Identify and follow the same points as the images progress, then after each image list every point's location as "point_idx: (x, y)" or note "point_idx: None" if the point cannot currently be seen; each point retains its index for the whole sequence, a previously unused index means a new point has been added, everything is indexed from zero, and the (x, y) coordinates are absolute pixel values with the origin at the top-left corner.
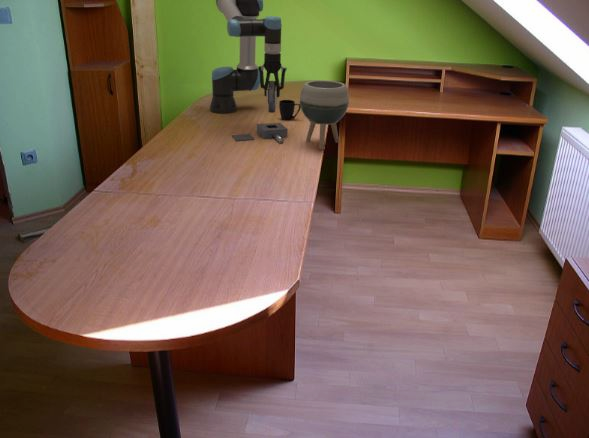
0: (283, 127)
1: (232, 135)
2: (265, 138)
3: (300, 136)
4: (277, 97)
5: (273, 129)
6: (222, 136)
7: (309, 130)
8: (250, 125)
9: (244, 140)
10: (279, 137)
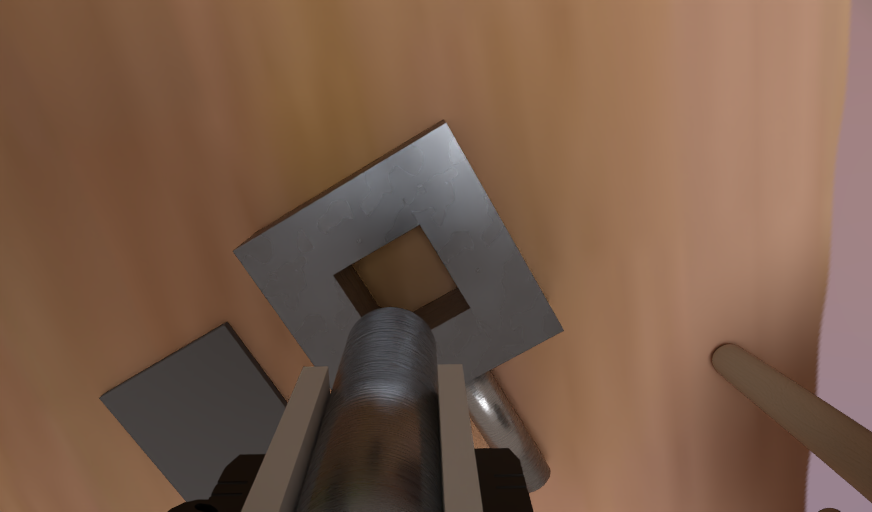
0: (518, 291)
1: (112, 409)
2: None
3: (654, 252)
4: (469, 420)
5: None
6: (43, 422)
7: (788, 431)
8: (116, 18)
9: None
10: None
